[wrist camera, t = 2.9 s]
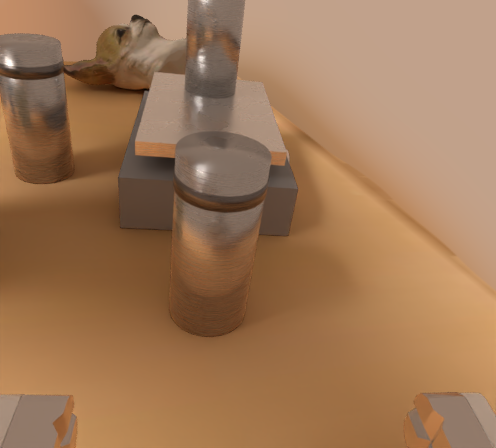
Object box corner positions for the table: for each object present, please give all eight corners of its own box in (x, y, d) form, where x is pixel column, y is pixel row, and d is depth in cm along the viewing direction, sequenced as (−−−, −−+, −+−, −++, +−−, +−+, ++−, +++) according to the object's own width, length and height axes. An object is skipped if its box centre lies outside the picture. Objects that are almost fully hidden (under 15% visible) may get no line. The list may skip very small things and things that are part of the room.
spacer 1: (6, 182, 35) (-23, 46, 29) (24, 155, 38) (3, 30, 33) (67, 185, 35) (51, 53, 30) (80, 159, 39) (68, 37, 33)
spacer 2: (182, 96, 37) (188, -45, 31) (184, 79, 41) (190, -50, 35) (237, 101, 38) (252, -37, 32) (234, 83, 41) (247, -43, 36)
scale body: (120, 227, 32) (118, 177, 29) (145, 130, 45) (144, 90, 43) (295, 236, 33) (305, 189, 31) (267, 139, 47) (273, 102, 45)
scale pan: (135, 155, 30) (135, 141, 29) (154, 82, 42) (154, 71, 41) (284, 165, 31) (287, 152, 30) (260, 92, 43) (262, 82, 43)
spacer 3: (165, 336, 24) (171, 170, 19) (170, 280, 28) (176, 127, 22) (249, 338, 25) (279, 178, 19) (242, 282, 28) (266, 134, 23)
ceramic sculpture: (172, 29, 45) (43, 12, 48) (174, 114, 49) (56, 93, 53) (211, 16, 53) (100, 2, 57) (210, 89, 58) (107, 73, 61)
